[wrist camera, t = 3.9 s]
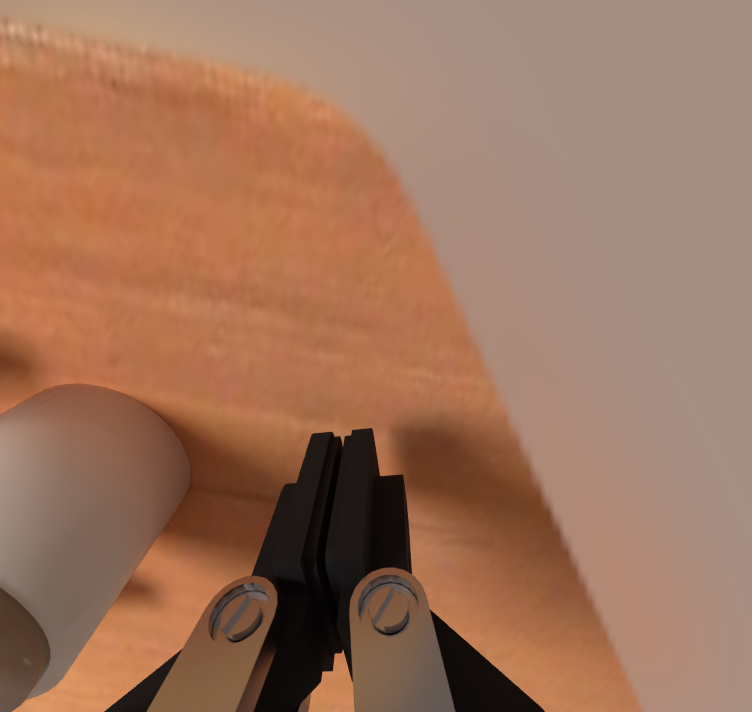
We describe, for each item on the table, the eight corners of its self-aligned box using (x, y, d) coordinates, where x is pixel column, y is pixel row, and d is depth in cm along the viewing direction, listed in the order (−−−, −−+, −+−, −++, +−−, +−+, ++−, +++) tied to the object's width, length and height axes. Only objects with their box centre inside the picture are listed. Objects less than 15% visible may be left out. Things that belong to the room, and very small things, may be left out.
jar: (155, 374, 12) (-57, 536, 6) (212, 516, 14) (97, 726, 8) (-20, 393, 12) (-362, 558, 7) (64, 527, 14) (-136, 733, 9)
